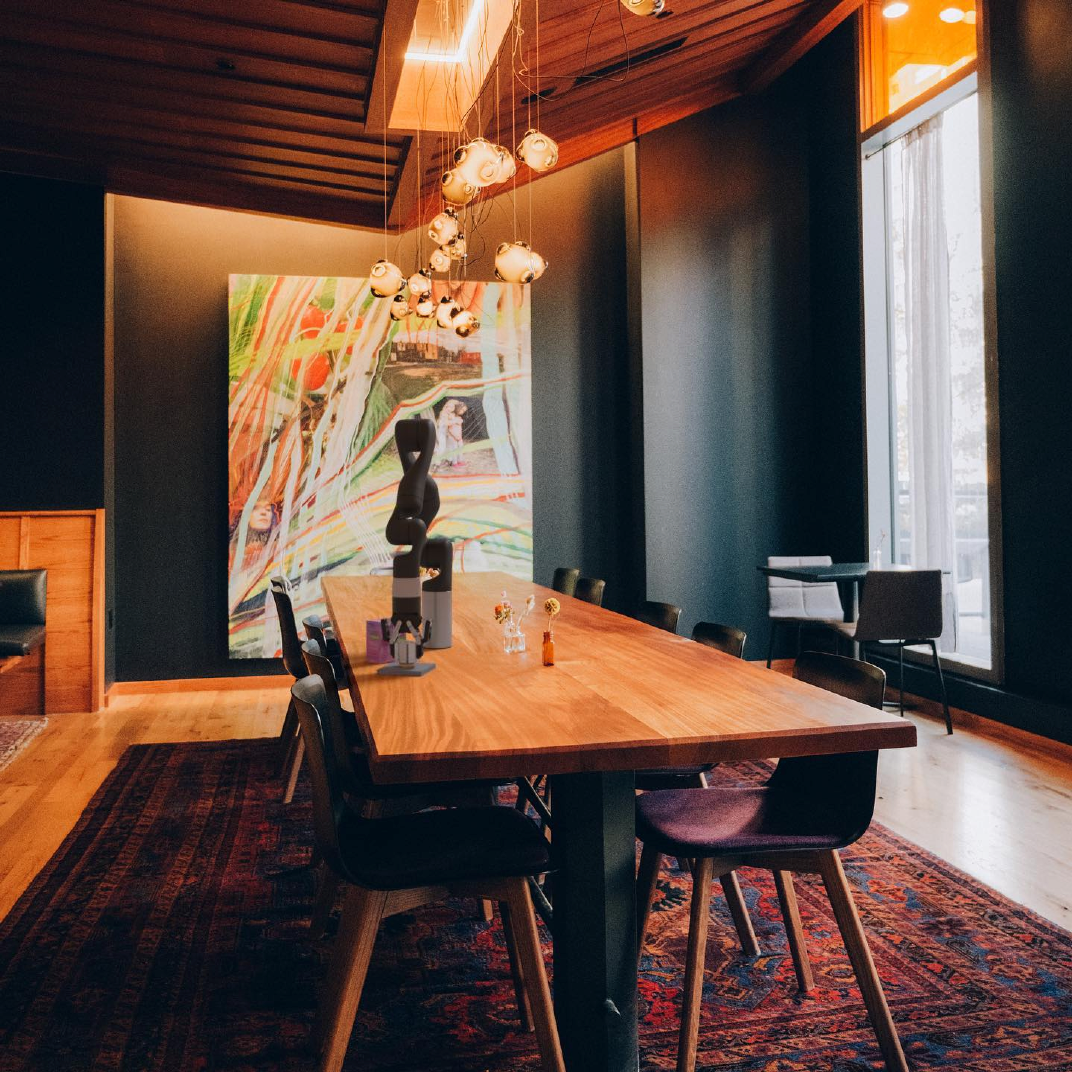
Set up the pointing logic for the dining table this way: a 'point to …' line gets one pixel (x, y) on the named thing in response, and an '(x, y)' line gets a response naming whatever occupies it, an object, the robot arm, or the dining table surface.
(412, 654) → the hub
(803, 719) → the dining table surface
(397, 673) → the shaft stand
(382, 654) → the box
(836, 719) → the dining table surface
